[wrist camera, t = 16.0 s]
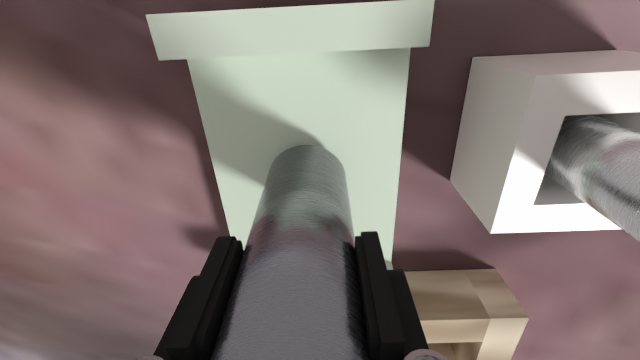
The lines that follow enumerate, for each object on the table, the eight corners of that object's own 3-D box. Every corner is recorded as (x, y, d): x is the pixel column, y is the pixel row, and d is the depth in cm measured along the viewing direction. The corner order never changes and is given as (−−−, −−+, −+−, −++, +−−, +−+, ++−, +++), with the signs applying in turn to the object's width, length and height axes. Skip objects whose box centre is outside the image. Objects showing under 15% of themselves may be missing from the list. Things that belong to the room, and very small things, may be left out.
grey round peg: (346, 210, 16) (379, 492, 7) (273, 213, 17) (209, 494, 7) (345, 143, 14) (392, 411, 5) (262, 146, 15) (153, 415, 5)
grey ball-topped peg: (562, 163, 17) (827, 328, 8) (482, 166, 17) (656, 333, 8) (593, 81, 15) (1003, 185, 6) (501, 86, 15) (767, 194, 6)
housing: (567, 176, 18) (646, 228, 14) (449, 180, 18) (490, 233, 14) (618, 49, 15) (744, 65, 10) (472, 57, 15) (535, 75, 10)
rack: (385, 261, 21) (398, 310, 18) (246, 266, 22) (232, 315, 18) (405, 2, 14) (434, -2, 10) (189, 14, 14) (145, 14, 10)
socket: (469, 351, 27) (491, 402, 23) (355, 354, 27) (361, 405, 23) (495, 268, 22) (529, 317, 18) (357, 273, 22) (364, 322, 18)
